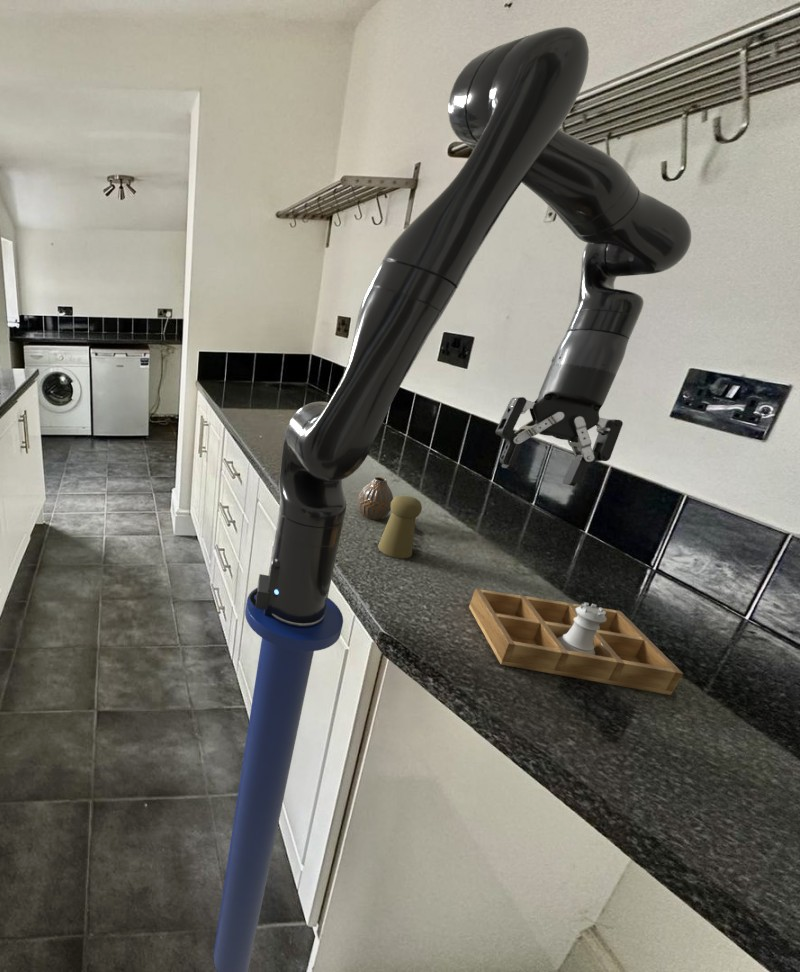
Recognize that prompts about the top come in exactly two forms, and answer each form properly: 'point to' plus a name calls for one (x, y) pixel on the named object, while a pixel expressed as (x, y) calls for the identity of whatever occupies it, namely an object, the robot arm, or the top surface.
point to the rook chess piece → (583, 629)
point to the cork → (400, 527)
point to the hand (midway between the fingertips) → (537, 476)
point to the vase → (375, 499)
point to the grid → (535, 646)
